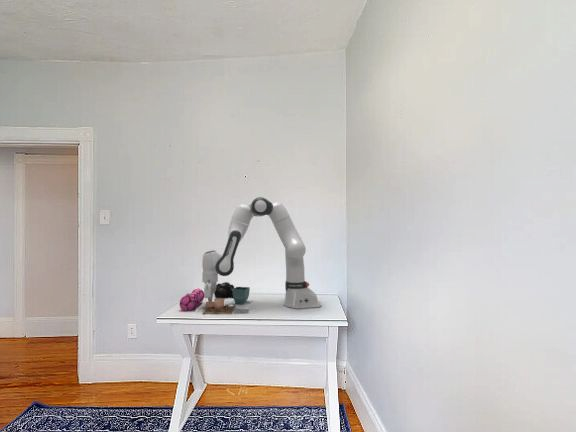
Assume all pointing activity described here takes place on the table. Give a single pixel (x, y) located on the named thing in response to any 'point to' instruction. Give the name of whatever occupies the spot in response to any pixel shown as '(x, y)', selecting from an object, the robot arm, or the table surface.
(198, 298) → the pencil case
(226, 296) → the film camera
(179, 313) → the table surface
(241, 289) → the flower pot
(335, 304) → the table surface
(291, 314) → the table surface
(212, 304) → the toggle lever handle
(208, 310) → the socket board
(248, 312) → the mat
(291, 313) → the table surface
